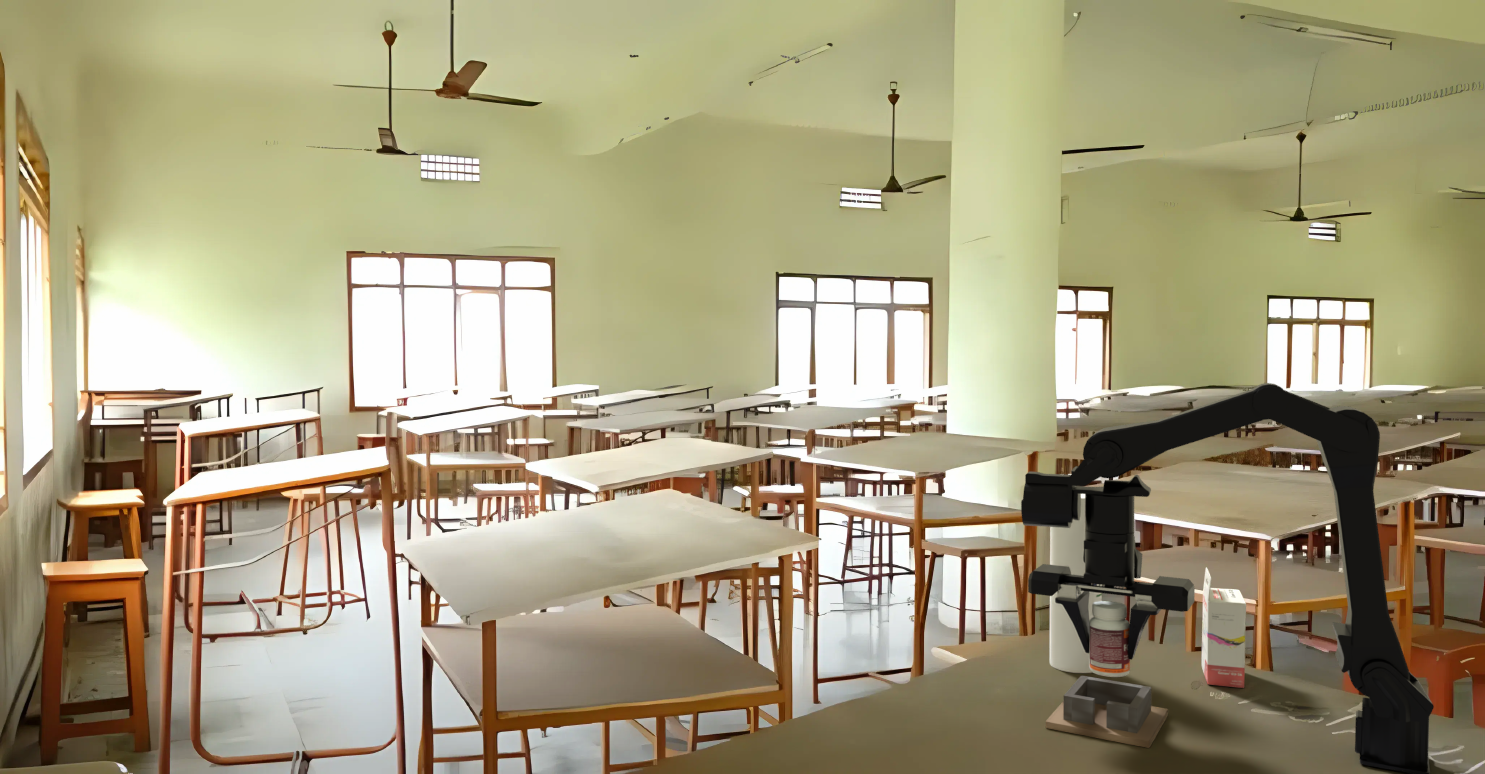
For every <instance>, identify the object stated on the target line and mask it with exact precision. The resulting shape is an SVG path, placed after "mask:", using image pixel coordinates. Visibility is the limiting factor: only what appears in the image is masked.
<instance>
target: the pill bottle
mask: <svg viewBox="0 0 1485 774" xmlns="http://www.w3.org/2000/svg"><path fill="white" fill-rule="evenodd" d="M1127 607H1128V606H1127V605H1126V604H1124V603H1122V602H1117V601H1110V600H1109V601H1108V600H1106V601H1105V600H1102V601H1098V602H1094V603H1093V604H1092V615H1093V616H1094V617H1093V618H1091V619H1090V621H1089V668H1090V670H1091V671H1092V672H1091V673H1093V674H1095V675H1097V676H1103V677H1109V678H1110V677H1111V678H1121V677H1125V676H1128V675H1129V674H1130V671H1131V659H1129V658H1128V638H1129V626H1130V621H1128V620H1127V617H1128V611H1127V610H1128V608H1127Z"/></svg>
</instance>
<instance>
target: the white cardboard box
mask: <svg viewBox="0 0 1485 774" xmlns="http://www.w3.org/2000/svg"><path fill="white" fill-rule="evenodd" d="M1202 587H1203V588H1202V589H1203V591H1202V622H1201V623H1202V626H1201V627H1202V629H1201V632H1202V633H1201V636H1202V637H1201V668H1202V672H1203V675H1204V678H1205V681H1206V683H1207V685H1213V686H1220V687H1231V688H1239V689H1244V688H1245V671H1246V670H1245V669H1246V665H1245V664H1246V663H1245V661H1246V620H1247V618H1246V617H1247V602H1246V600H1245V598H1244V596H1243V594H1242V593H1241V590H1239V589H1235V588H1234V589H1233V588H1218V587H1217V588H1216V587H1212V576H1211V574H1210V570H1209V569H1208V567H1207V566H1206V567H1205V570H1204V579H1203V586H1202Z"/></svg>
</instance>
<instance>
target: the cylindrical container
mask: <svg viewBox="0 0 1485 774" xmlns="http://www.w3.org/2000/svg"><path fill="white" fill-rule="evenodd" d="M1049 529H1050V530H1049V539H1050V541H1049V549H1050V550H1049V565H1057V566H1067V567H1069V568H1070V571H1071V574H1072V575H1081V576H1084V573H1085V563H1084V561H1083V554H1084V540H1085V494H1081V515H1080V520H1074V519H1073V522H1072V523H1071V527H1070V528H1062V527H1049ZM1093 585H1096V584H1093ZM1097 586H1099V584H1097ZM1100 586H1103V585H1100ZM1087 592H1088V591H1087ZM1102 594H1103V593H1096V592H1089V604H1088V610H1089V621H1090V619H1091V618H1093V617H1094V616H1093V615H1092V604H1093V603H1094V602H1098V601H1103V597H1102ZM1056 597H1057V592H1056V593H1055V594H1054V595H1053V596H1049V665H1050V666H1051V667H1052V668H1053V669H1055V670H1059V671H1062V672H1067V673H1074V674H1092V673H1093V672H1092V671H1091V670H1090V668H1089V653H1086V652H1085V650H1084V648H1083V645H1082V643H1081V641H1080V638H1079V636H1078V634H1077V631H1076V629H1075V627H1074V624H1073V622H1072V621H1071V619H1070V617H1069V615H1068V614H1067V612H1066V610H1065V608H1064V607H1063V605H1062V604H1058V603H1055V598H1056Z"/></svg>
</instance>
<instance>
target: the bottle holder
mask: <svg viewBox="0 0 1485 774" xmlns="http://www.w3.org/2000/svg"><path fill="white" fill-rule="evenodd" d="M1168 716H1169V709H1168V708H1164V707H1159V706H1154V705H1152V686H1146V685H1141V684H1134V683H1129V682H1123V681H1122V682H1121V681H1118V680H1110V679H1106V678H1105V679H1104V678H1099V677H1098V678H1097V677H1092V676H1086V675H1080V676H1079V677H1078V678H1077V680H1076V681H1075V682H1074V683H1073V684H1072V685H1071V687H1070V688H1069V689H1068V690H1067V691H1066V692H1065V693H1064V694H1063V700H1062V702H1061V703H1060V705H1058V706H1057V707H1056V709H1055V710H1054V711H1053V712H1052V713H1051V714H1050V715H1049V717H1048V718H1047V719H1046V720H1045V728H1046V729H1051V730H1053V731H1054V730H1055V731H1059V732H1066V733H1070V734H1076V735H1081V736H1085V737H1091V738H1097V739H1100V740H1107V741H1111V742H1116V743H1117V742H1118V743H1122V744H1126V745H1131V746H1136V747H1137V746H1138V747H1142V748H1148V749H1150V748H1151V746H1152V744H1153V743H1154V740H1155V739H1156V737H1157V735H1158V734H1159V731H1160V730H1161V728H1162V726H1163V725H1164V723H1165V721H1166V720H1167V718H1168Z"/></svg>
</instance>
